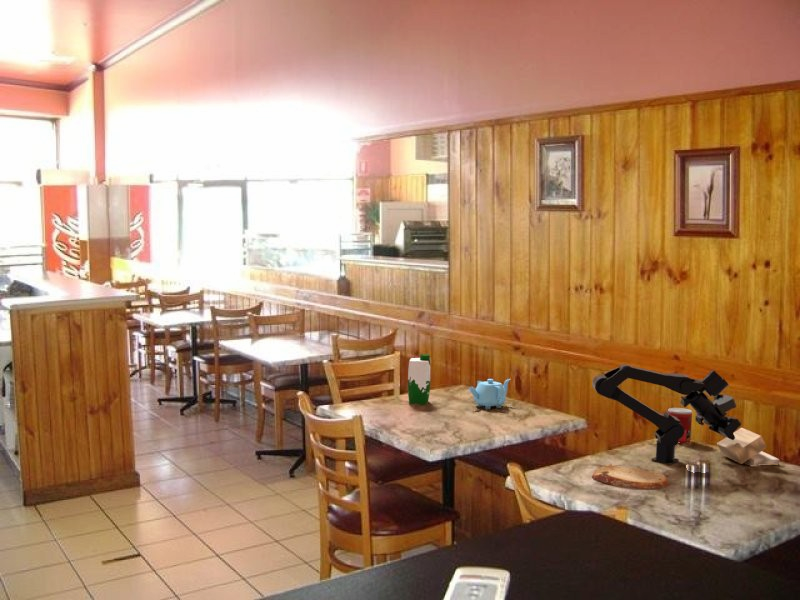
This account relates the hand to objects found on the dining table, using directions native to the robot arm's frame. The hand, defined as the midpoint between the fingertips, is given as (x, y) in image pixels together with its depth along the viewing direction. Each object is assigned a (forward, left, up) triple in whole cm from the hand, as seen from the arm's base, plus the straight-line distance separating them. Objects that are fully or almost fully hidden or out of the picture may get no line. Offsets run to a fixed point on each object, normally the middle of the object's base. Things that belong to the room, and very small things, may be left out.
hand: (733, 438), depth 277 cm
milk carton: (-8, +126, -7) cm, 127 cm away
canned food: (+12, +23, -7) cm, 27 cm away
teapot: (+8, +102, -7) cm, 103 cm away
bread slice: (-44, +13, -8) cm, 47 cm away
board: (+6, -4, -7) cm, 10 cm away
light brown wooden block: (-1, +1, -5) cm, 5 cm away
